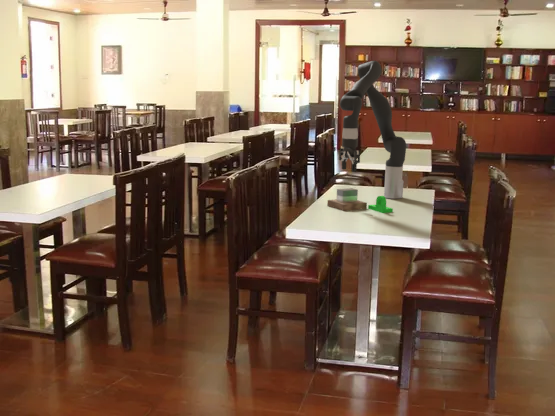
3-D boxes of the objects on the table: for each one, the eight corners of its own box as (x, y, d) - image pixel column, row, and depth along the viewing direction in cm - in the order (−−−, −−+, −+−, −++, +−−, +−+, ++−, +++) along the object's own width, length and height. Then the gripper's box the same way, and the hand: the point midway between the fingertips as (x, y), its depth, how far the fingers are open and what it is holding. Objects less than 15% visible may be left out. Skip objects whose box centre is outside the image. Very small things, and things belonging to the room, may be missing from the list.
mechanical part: (392, 212, 304) (393, 196, 302) (382, 213, 301) (383, 196, 300) (378, 208, 314) (379, 192, 313) (368, 209, 312) (368, 193, 310)
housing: (336, 201, 313) (337, 189, 312) (351, 199, 318) (351, 188, 317) (342, 202, 309) (342, 190, 308) (357, 201, 313) (357, 189, 312)
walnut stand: (350, 204, 323) (350, 198, 322) (366, 208, 311) (366, 202, 310) (327, 205, 316) (327, 200, 316) (343, 210, 304) (343, 204, 304)
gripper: (335, 136, 311) (334, 169, 314) (352, 138, 299) (351, 172, 302) (347, 136, 315) (346, 168, 318) (365, 138, 303) (363, 171, 306)
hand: (348, 170), depth 310 cm, fingers open, 8 cm apart
